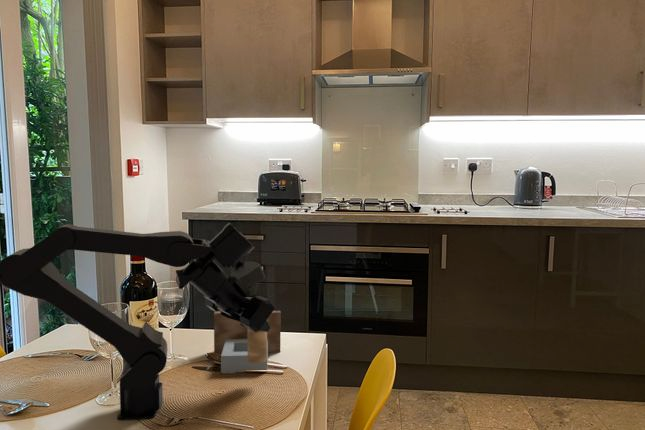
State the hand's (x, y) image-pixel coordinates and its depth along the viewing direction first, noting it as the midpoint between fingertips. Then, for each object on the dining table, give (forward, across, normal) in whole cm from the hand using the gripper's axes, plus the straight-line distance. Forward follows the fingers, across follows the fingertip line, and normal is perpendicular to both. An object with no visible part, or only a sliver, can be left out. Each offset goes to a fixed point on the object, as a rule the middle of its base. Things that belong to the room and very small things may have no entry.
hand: (262, 327), depth 97 cm
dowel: (+4, 0, +6) cm, 7 cm away
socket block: (+10, +10, +7) cm, 16 cm away
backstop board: (+13, +16, +4) cm, 21 cm away
